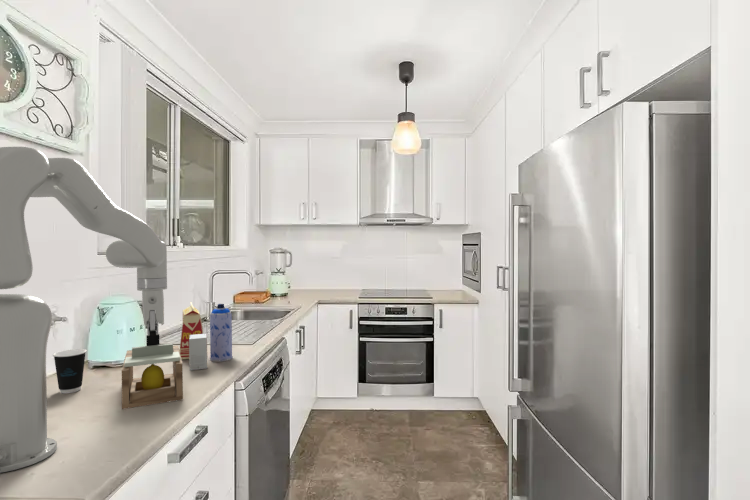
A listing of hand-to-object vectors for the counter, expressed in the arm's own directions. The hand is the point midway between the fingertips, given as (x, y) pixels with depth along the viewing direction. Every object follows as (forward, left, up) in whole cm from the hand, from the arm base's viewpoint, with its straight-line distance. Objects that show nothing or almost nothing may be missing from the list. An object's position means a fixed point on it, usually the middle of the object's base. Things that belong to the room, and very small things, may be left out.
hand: (153, 349), depth 121 cm
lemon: (-5, -2, -11) cm, 12 cm away
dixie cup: (+4, +24, -12) cm, 28 cm away
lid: (-5, -2, -2) cm, 6 cm away
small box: (+25, -5, -12) cm, 28 cm away
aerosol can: (+35, -10, -12) cm, 38 cm away
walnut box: (+1, 0, -12) cm, 12 cm away
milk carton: (+40, +2, -12) cm, 42 cm away
